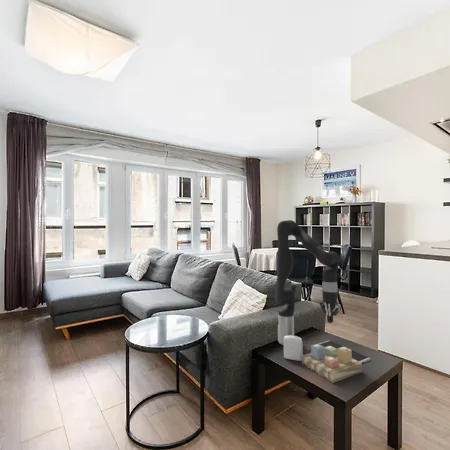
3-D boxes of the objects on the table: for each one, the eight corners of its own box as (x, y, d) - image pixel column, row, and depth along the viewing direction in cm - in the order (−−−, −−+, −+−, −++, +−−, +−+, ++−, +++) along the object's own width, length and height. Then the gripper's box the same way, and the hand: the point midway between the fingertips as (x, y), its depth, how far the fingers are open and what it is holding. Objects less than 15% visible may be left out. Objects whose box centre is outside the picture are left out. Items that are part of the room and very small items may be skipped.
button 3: (324, 370, 140) (324, 357, 139) (331, 368, 142) (331, 355, 142) (332, 375, 135) (331, 361, 135) (338, 372, 138) (338, 359, 137)
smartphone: (354, 367, 146) (354, 364, 146) (314, 347, 169) (314, 344, 169) (371, 361, 152) (371, 358, 152) (330, 342, 176) (330, 339, 176)
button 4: (337, 360, 144) (337, 347, 144) (344, 358, 146) (343, 345, 146) (345, 364, 139) (345, 351, 139) (351, 362, 142) (351, 349, 142)
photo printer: (283, 358, 155) (282, 336, 155) (284, 355, 159) (284, 333, 159) (302, 362, 151) (302, 338, 151) (303, 358, 155) (303, 335, 155)
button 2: (324, 358, 152) (323, 346, 152) (330, 356, 154) (330, 345, 154) (330, 362, 148) (330, 350, 147) (337, 360, 150) (337, 348, 150)
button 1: (311, 357, 148) (311, 344, 147) (317, 355, 150) (317, 343, 150) (317, 360, 143) (317, 348, 143) (324, 358, 146) (324, 346, 145)
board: (302, 364, 149) (302, 355, 149) (330, 355, 158) (329, 347, 158) (332, 383, 131) (332, 373, 131) (361, 372, 140) (361, 362, 140)
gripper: (315, 288, 154) (315, 319, 155) (334, 293, 143) (335, 327, 143) (325, 286, 158) (325, 317, 158) (345, 291, 146) (345, 325, 146)
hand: (330, 322), depth 151 cm, fingers closed
